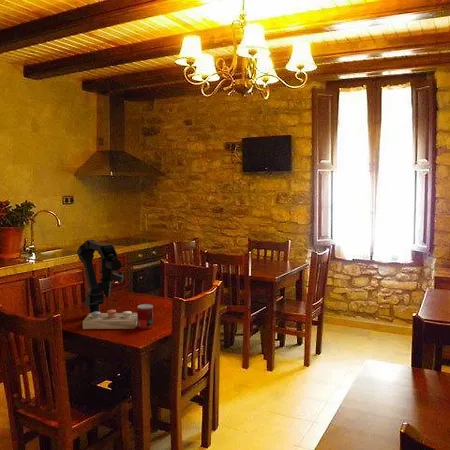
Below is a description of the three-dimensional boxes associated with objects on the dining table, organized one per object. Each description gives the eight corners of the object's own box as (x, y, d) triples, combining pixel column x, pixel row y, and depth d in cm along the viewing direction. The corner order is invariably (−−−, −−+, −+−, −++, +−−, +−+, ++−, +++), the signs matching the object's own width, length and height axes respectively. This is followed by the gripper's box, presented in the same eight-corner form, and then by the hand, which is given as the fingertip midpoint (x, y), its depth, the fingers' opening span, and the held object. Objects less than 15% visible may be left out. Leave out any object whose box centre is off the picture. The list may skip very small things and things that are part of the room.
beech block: (89, 320, 241) (89, 313, 241) (139, 320, 242) (138, 312, 242) (82, 329, 227) (82, 321, 227) (134, 328, 228) (134, 320, 228)
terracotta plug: (108, 320, 237) (107, 309, 236) (117, 320, 237) (116, 309, 237) (106, 323, 232) (106, 312, 232) (115, 323, 232) (115, 312, 232)
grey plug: (92, 322, 237) (92, 311, 236) (101, 322, 237) (101, 311, 236) (90, 325, 232) (90, 314, 232) (99, 325, 232) (99, 313, 232)
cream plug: (123, 322, 237) (123, 311, 237) (132, 322, 237) (132, 311, 237) (122, 324, 233) (121, 313, 232) (131, 324, 233) (130, 313, 232)
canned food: (150, 330, 226) (149, 308, 225) (135, 328, 228) (134, 307, 227) (155, 325, 234) (155, 304, 233) (140, 324, 235) (140, 303, 234)
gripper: (118, 271, 228) (119, 301, 230) (125, 265, 247) (126, 293, 248) (96, 271, 228) (97, 302, 229) (104, 265, 246) (105, 293, 248)
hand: (107, 297), depth 238 cm, fingers closed
